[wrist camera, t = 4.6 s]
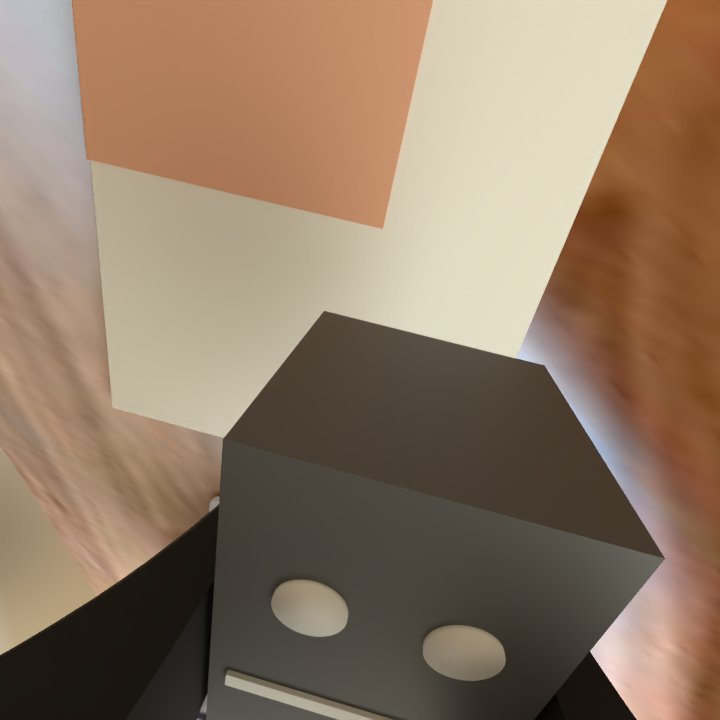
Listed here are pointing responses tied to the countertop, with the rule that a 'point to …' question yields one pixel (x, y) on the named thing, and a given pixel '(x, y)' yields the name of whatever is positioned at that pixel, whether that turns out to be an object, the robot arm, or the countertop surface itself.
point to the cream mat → (333, 174)
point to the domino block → (412, 536)
